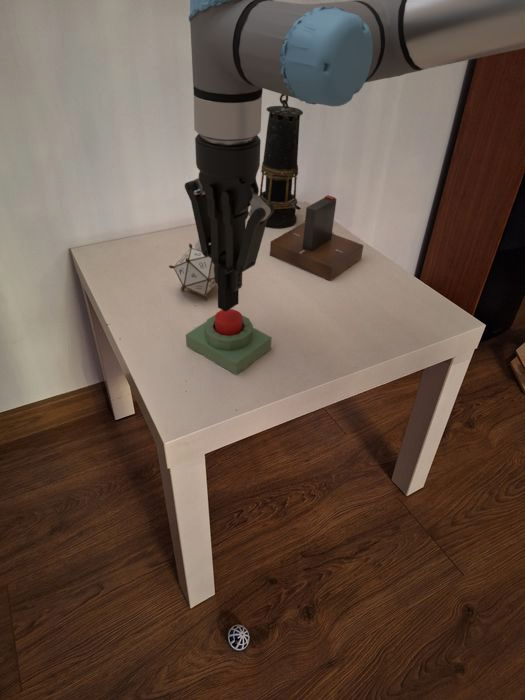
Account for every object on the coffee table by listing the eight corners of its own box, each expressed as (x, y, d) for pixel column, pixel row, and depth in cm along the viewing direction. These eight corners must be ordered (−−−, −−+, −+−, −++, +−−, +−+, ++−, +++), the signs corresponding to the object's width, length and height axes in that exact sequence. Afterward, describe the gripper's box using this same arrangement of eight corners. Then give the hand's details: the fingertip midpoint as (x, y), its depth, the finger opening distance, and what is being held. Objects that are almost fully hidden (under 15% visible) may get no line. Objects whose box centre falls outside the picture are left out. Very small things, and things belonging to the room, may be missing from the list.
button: (247, 327, 78) (248, 316, 77) (229, 340, 76) (229, 328, 74) (227, 316, 80) (227, 305, 79) (209, 328, 77) (209, 317, 76)
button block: (271, 348, 80) (272, 327, 78) (236, 375, 75) (236, 353, 73) (222, 322, 85) (221, 301, 82) (186, 346, 80) (184, 324, 77)
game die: (197, 316, 92) (173, 293, 83) (178, 279, 96) (152, 254, 86) (240, 288, 92) (221, 263, 82) (220, 253, 95) (198, 224, 86)
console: (361, 258, 103) (364, 244, 101) (330, 281, 96) (332, 266, 94) (302, 235, 109) (304, 221, 107) (269, 255, 102) (270, 240, 100)
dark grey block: (311, 251, 98) (315, 209, 93) (302, 247, 99) (306, 206, 94) (331, 238, 102) (336, 197, 97) (322, 235, 103) (327, 194, 98)
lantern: (301, 226, 113) (316, 70, 94) (259, 229, 111) (266, 71, 92) (290, 209, 119) (301, 59, 101) (250, 211, 118) (254, 60, 99)
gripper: (293, 140, 60) (280, 312, 75) (208, 115, 66) (212, 279, 81) (250, 156, 55) (246, 336, 70) (164, 128, 61) (176, 299, 76)
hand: (228, 305), depth 75 cm, fingers closed
